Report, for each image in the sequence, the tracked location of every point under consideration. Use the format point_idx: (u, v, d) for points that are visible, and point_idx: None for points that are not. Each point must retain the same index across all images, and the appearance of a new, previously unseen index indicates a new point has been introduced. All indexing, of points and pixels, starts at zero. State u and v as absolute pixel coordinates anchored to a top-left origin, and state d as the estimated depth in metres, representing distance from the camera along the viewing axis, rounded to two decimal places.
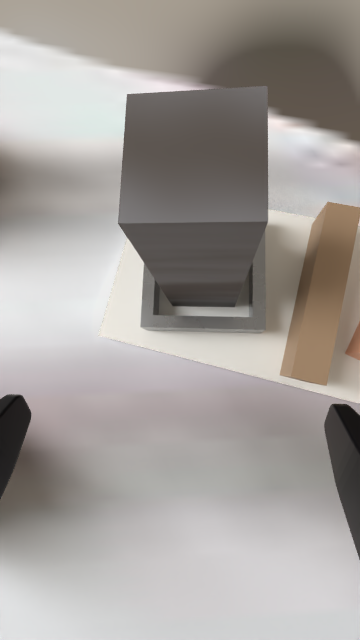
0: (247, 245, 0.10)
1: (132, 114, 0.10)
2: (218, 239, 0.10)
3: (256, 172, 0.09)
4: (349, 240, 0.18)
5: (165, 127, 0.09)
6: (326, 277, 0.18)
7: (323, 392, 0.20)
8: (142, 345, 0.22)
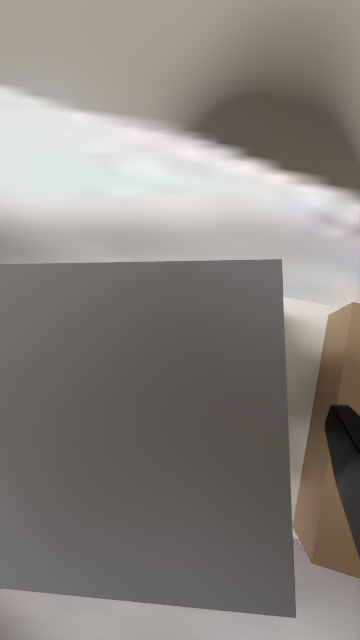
0: None
1: (0, 310, 0.05)
2: None
3: (263, 476, 0.04)
4: None
5: (65, 345, 0.04)
6: None
7: None
8: None
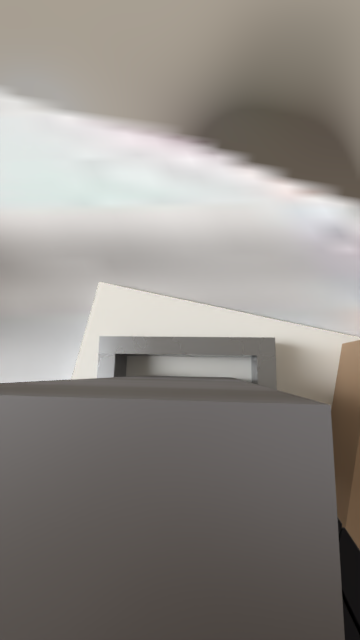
0: None
1: None
2: None
3: None
4: None
5: None
6: None
7: None
8: None
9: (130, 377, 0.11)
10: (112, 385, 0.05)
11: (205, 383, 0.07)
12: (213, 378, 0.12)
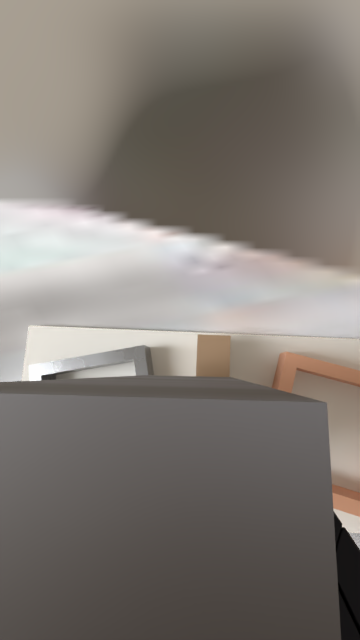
0: None
1: None
2: None
3: None
4: (224, 372, 0.18)
5: None
6: None
7: None
8: None
9: None
10: (111, 384, 0.05)
11: (204, 382, 0.07)
12: None
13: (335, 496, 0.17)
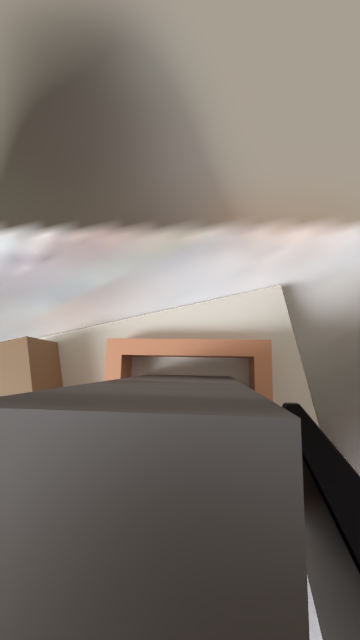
0: None
1: None
2: None
3: None
4: (25, 384, 0.14)
5: (25, 522, 0.03)
6: None
7: None
8: None
9: (136, 378, 0.12)
10: (126, 393, 0.06)
11: (206, 388, 0.07)
12: (213, 378, 0.13)
13: None
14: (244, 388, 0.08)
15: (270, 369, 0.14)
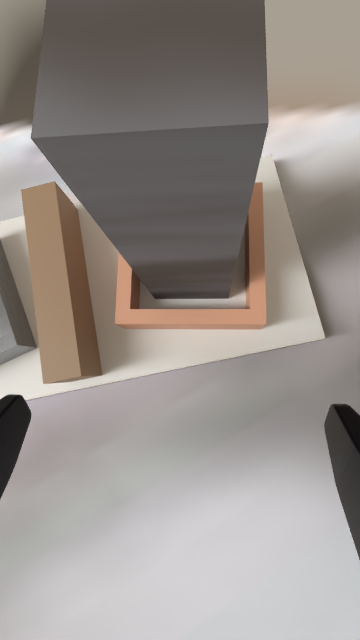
0: (237, 184, 0.07)
1: None
2: (193, 171, 0.07)
3: (247, 51, 0.06)
4: (54, 218, 0.17)
5: None
6: (44, 264, 0.16)
7: (119, 378, 0.18)
8: None
9: None
10: None
11: None
12: None
13: (195, 312, 0.16)
14: None
15: (261, 205, 0.17)
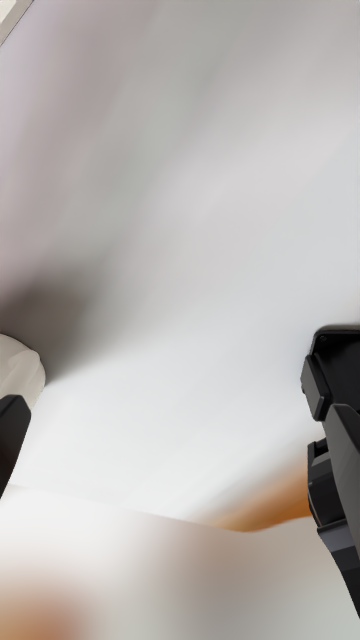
0: None
1: None
2: None
3: None
4: None
5: None
6: None
7: None
8: None
9: None
10: None
11: None
12: None
13: None
14: None
15: None
